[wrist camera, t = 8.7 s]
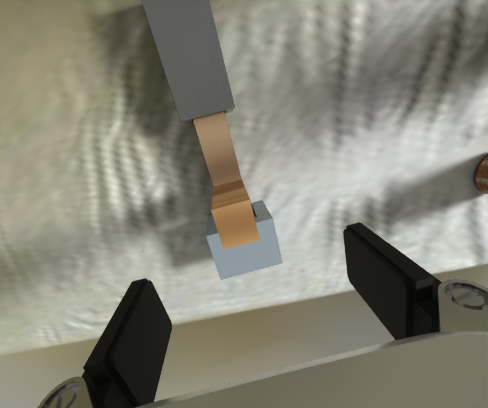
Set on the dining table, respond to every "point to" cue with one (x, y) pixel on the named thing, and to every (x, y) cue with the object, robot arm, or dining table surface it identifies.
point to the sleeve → (190, 56)
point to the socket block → (246, 246)
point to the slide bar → (226, 183)
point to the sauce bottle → (482, 176)
